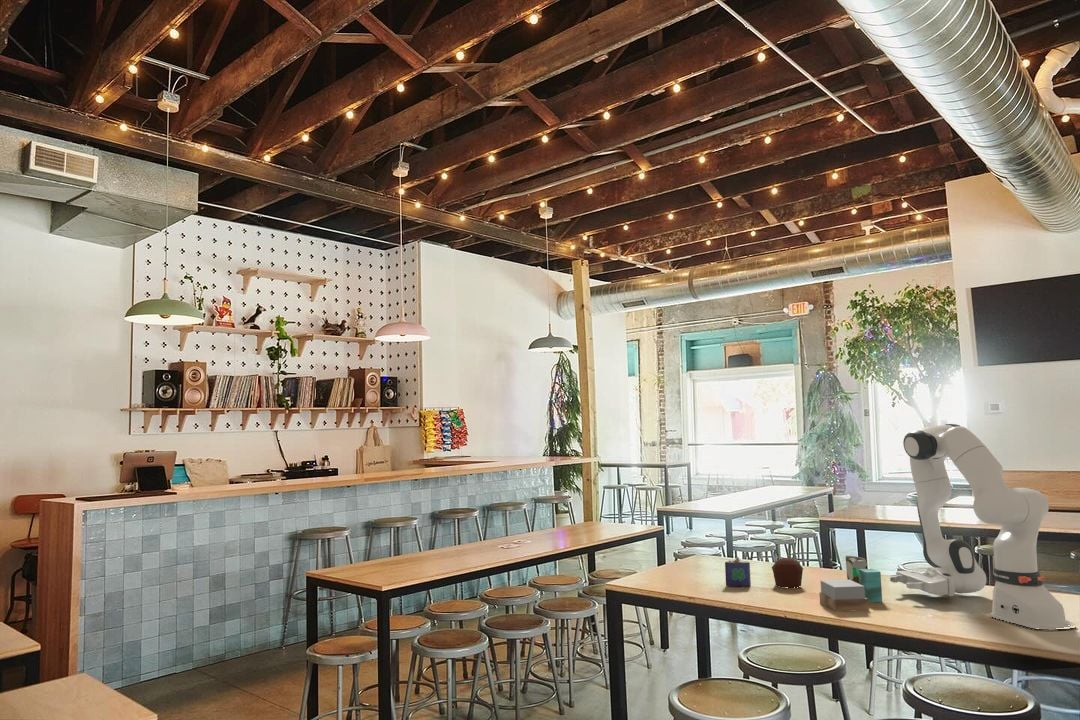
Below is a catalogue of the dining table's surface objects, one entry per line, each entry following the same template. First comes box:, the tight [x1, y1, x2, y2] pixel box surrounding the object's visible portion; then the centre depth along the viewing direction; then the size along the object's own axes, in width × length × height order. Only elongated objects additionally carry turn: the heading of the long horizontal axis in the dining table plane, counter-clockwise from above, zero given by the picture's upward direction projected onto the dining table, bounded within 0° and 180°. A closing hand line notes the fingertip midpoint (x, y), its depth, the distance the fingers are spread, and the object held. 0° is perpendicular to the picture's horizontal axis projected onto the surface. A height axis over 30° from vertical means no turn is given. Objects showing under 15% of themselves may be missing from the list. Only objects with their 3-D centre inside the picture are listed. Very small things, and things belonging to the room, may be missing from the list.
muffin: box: [771, 557, 804, 589], centre depth 266 cm, size 12×11×10 cm
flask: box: [724, 556, 752, 588], centre depth 267 cm, size 9×3×11 cm, turn 88°
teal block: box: [859, 568, 883, 603], centre depth 243 cm, size 5×5×10 cm
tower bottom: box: [818, 591, 870, 612], centre depth 236 cm, size 11×11×4 cm
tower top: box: [820, 579, 865, 600], centre depth 236 cm, size 10×10×4 cm
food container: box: [845, 555, 868, 584], centre depth 263 cm, size 12×6×10 cm, turn 168°
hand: (899, 582), depth 244 cm, fingers open, 8 cm apart
